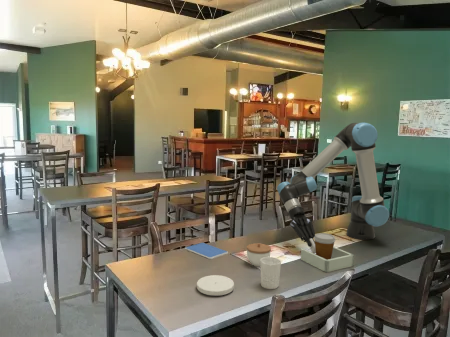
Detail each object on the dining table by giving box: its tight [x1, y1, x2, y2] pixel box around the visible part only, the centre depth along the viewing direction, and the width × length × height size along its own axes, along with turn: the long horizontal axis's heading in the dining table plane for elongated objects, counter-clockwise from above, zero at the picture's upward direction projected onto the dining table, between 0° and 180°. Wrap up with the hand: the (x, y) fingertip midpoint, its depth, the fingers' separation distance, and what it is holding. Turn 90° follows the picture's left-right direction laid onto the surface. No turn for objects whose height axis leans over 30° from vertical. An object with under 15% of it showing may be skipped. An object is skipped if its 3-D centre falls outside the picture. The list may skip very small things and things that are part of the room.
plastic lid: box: [196, 274, 235, 297], centre depth 135 cm, size 14×14×2 cm
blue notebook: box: [184, 242, 229, 260], centre depth 175 cm, size 19×13×1 cm, turn 45°
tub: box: [300, 246, 355, 273], centre depth 163 cm, size 16×16×5 cm
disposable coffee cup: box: [313, 232, 336, 260], centre depth 164 cm, size 10×10×12 cm
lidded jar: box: [246, 242, 272, 267], centre depth 159 cm, size 11×11×9 cm
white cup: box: [259, 256, 282, 290], centre depth 138 cm, size 8×8×10 cm
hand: (315, 252), depth 168 cm, fingers closed
